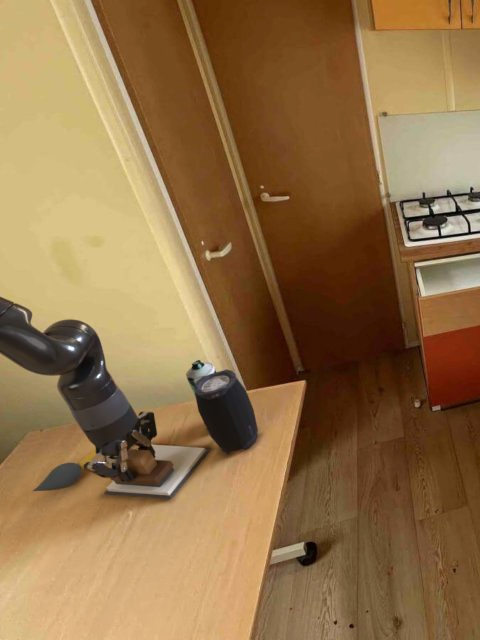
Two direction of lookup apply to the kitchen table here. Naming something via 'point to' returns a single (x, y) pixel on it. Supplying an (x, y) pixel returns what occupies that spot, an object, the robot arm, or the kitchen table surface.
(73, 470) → the paintbrush
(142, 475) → the two-tone stacked block
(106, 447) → the robot arm
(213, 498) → the kitchen table surface
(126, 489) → the tile
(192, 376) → the spray can
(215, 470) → the kitchen table surface
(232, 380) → the portable speaker
